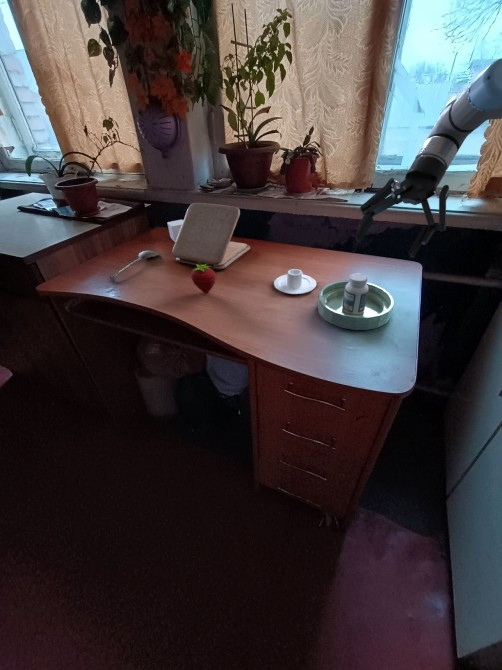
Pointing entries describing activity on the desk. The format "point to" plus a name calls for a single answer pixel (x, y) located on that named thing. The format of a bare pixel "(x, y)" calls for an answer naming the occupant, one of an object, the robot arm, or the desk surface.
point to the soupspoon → (141, 256)
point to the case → (209, 236)
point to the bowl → (372, 317)
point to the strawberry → (203, 278)
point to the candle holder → (295, 282)
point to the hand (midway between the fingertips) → (382, 247)
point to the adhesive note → (174, 228)
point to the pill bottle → (355, 294)
